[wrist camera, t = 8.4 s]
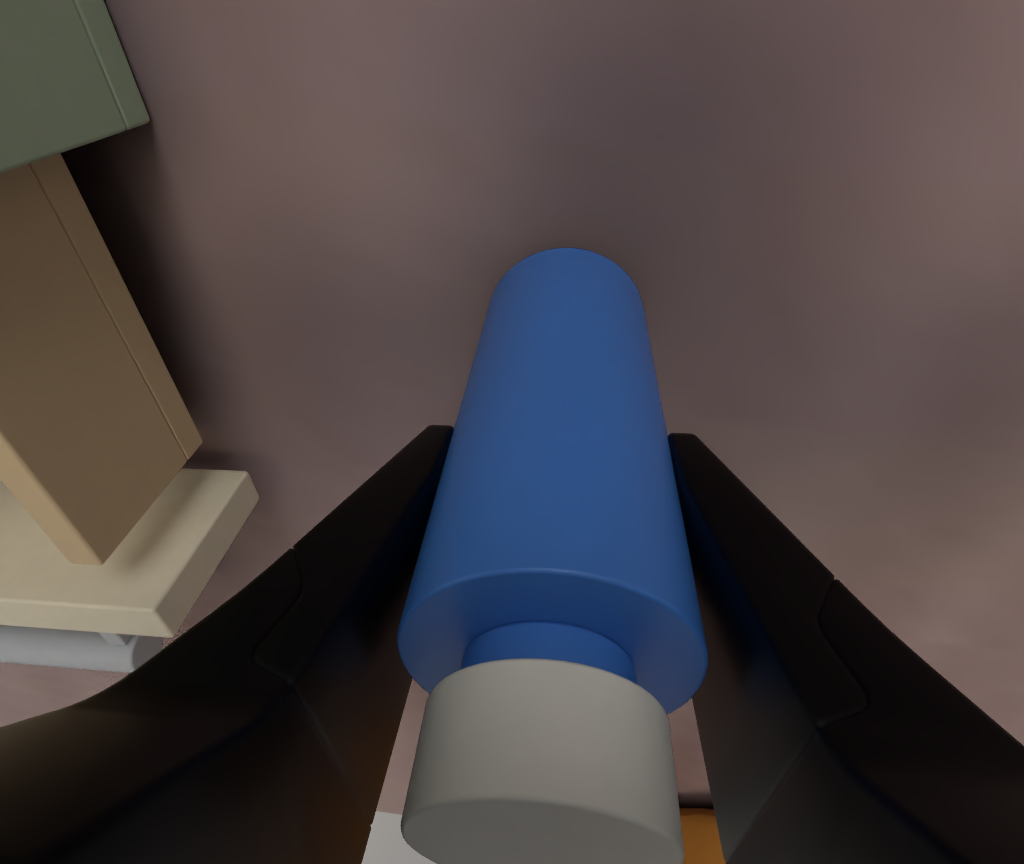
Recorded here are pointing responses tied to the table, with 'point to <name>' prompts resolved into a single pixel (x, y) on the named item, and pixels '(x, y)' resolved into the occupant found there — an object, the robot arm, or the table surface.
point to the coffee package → (700, 836)
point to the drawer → (92, 450)
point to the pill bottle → (553, 590)
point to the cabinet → (61, 79)
